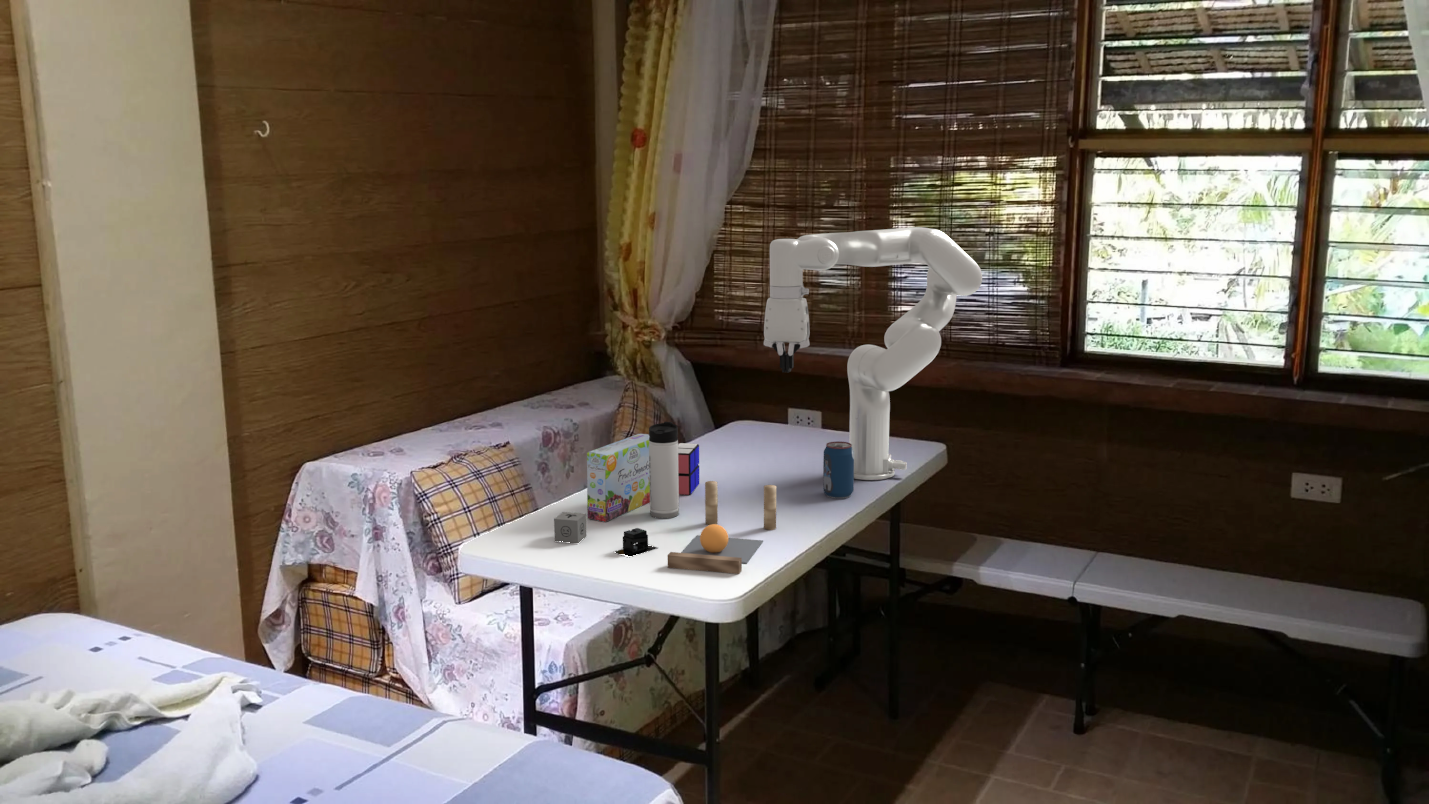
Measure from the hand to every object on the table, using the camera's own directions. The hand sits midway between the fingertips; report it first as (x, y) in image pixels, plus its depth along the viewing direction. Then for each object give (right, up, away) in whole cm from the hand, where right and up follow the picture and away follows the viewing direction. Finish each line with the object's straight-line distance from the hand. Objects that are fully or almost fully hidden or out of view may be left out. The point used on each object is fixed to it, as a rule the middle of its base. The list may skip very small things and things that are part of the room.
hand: (786, 371), depth 289 cm
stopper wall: (-19, -39, -54) cm, 69 cm away
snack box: (-37, -31, -15) cm, 50 cm away
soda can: (+11, -29, -5) cm, 31 cm away
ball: (-17, -34, -45) cm, 59 cm away
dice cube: (-46, -35, -36) cm, 68 cm away
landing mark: (-16, -36, -43) cm, 58 cm away
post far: (-17, -33, -26) cm, 45 cm away
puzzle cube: (-26, -28, +1) cm, 38 cm away
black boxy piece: (-33, -37, -43) cm, 65 cm away
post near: (-5, -34, -29) cm, 45 cm away
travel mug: (-28, -32, -19) cm, 46 cm away
